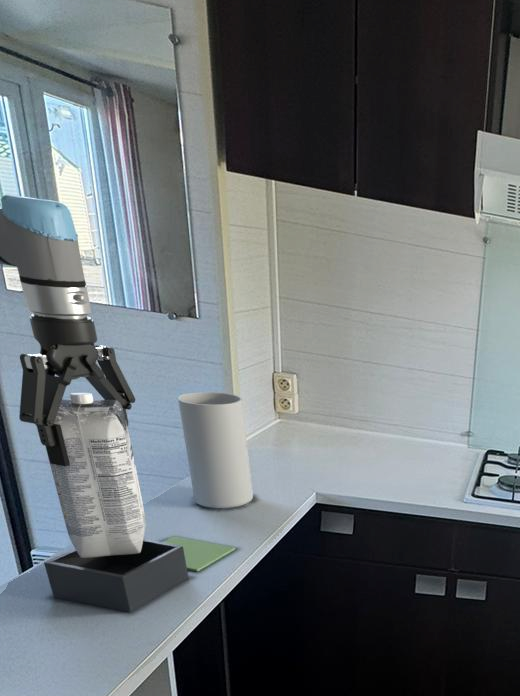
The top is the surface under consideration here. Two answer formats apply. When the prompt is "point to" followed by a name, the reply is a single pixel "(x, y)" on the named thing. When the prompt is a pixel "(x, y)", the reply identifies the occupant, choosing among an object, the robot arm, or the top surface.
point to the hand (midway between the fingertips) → (92, 455)
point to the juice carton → (98, 479)
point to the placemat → (199, 552)
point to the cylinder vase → (216, 449)
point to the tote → (118, 576)
